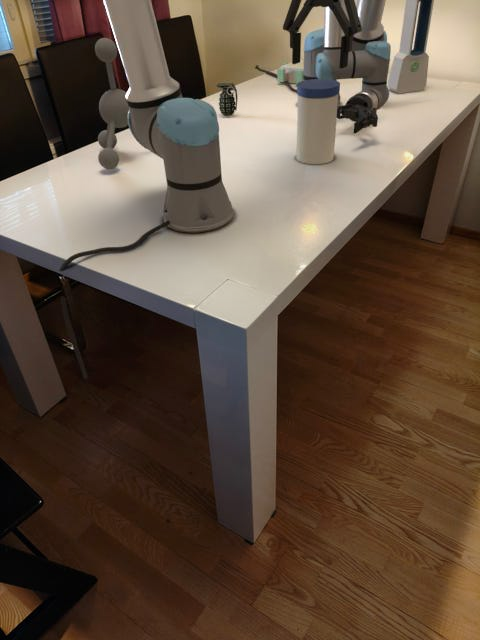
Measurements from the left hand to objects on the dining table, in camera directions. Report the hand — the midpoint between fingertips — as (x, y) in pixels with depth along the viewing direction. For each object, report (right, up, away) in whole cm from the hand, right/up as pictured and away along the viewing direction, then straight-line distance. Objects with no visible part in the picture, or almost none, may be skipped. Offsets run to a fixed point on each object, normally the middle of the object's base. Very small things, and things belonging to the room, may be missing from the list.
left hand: (319, 65), depth 119 cm
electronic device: (+44, +25, +66) cm, 83 cm away
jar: (+1, -18, +14) cm, 23 cm away
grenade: (-23, +9, +50) cm, 56 cm away
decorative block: (+8, +40, +88) cm, 97 cm away
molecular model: (-50, -15, +22) cm, 57 cm away
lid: (0, -4, +3) cm, 4 cm away
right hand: (+6, -9, +16) cm, 19 cm away
